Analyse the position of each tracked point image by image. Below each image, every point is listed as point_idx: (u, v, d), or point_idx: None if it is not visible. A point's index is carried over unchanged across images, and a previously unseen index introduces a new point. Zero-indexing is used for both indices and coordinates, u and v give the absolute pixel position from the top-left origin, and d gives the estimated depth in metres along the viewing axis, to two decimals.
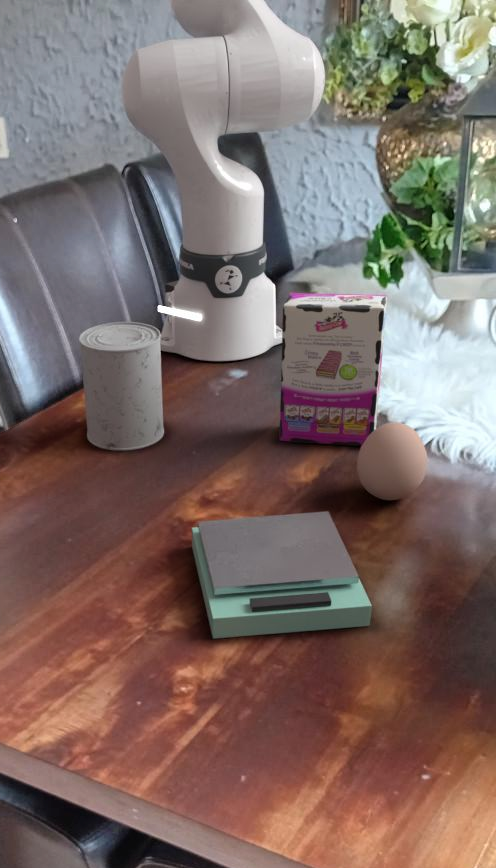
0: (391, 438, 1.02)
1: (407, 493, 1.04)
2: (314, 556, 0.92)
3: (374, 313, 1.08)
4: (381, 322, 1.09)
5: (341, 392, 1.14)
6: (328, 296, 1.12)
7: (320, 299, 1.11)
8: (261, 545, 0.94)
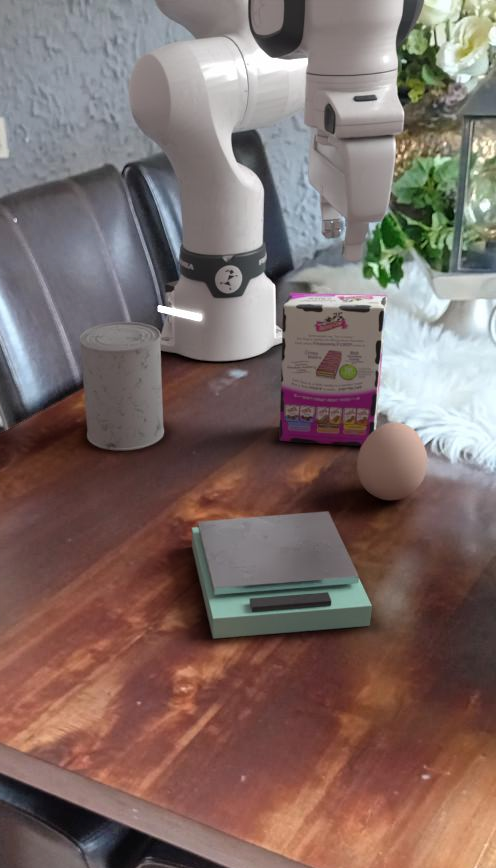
0: (391, 438, 1.02)
1: (407, 493, 1.04)
2: (314, 556, 0.92)
3: (374, 313, 1.08)
4: (381, 322, 1.09)
5: (341, 392, 1.14)
6: (328, 296, 1.12)
7: (320, 299, 1.11)
8: (261, 545, 0.94)
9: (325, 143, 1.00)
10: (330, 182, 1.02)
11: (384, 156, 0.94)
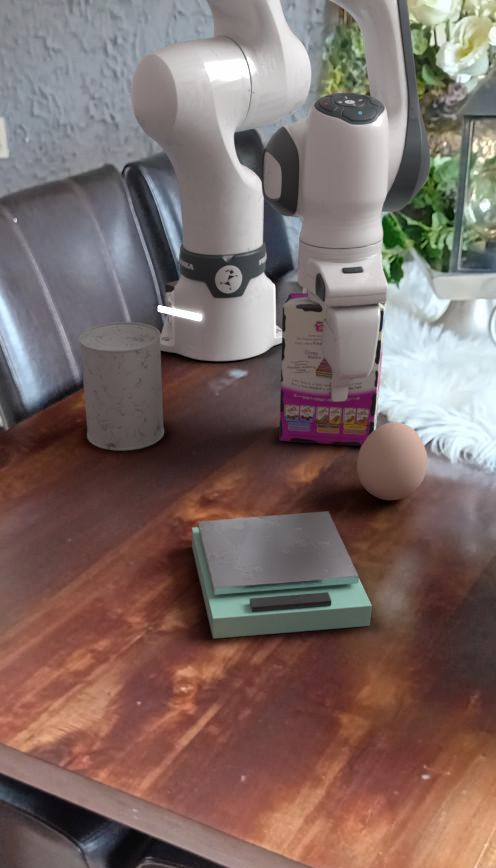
0: (391, 438, 1.02)
1: (407, 493, 1.04)
2: (314, 556, 0.92)
3: None
4: (381, 322, 1.09)
5: None
6: None
7: None
8: (261, 545, 0.94)
9: (316, 301, 1.09)
10: None
11: (369, 323, 1.03)
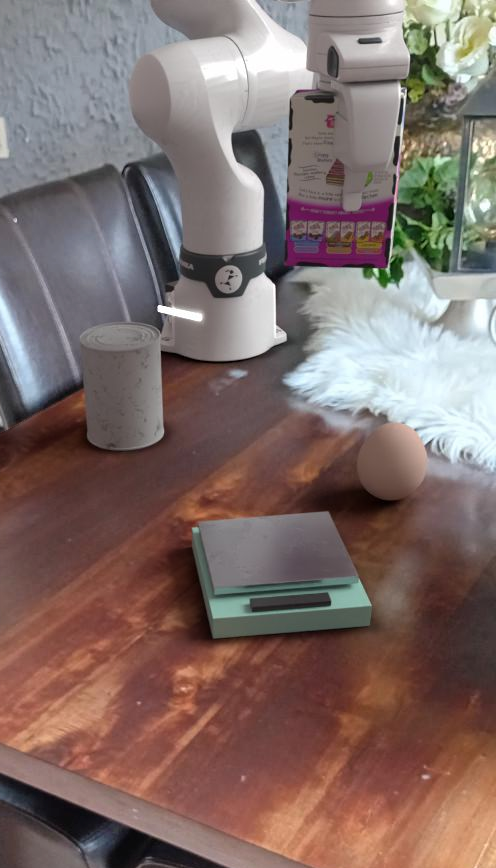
0: (391, 438, 1.02)
1: (407, 493, 1.04)
2: (314, 556, 0.92)
3: None
4: (400, 113, 0.96)
5: None
6: None
7: None
8: (261, 545, 0.94)
9: (327, 89, 0.97)
10: None
11: (389, 101, 0.91)
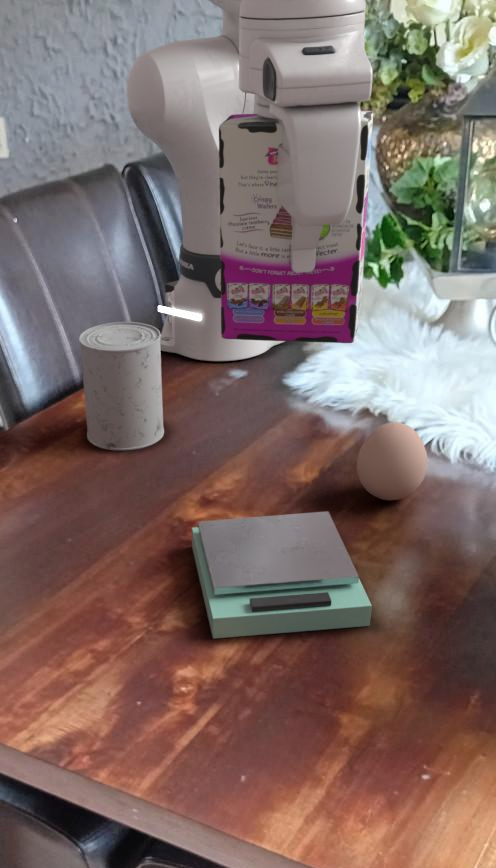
0: (391, 438, 1.02)
1: (407, 493, 1.04)
2: (314, 556, 0.92)
3: None
4: (364, 145, 0.73)
5: None
6: None
7: None
8: (261, 545, 0.94)
9: (267, 115, 0.73)
10: None
11: (345, 132, 0.67)
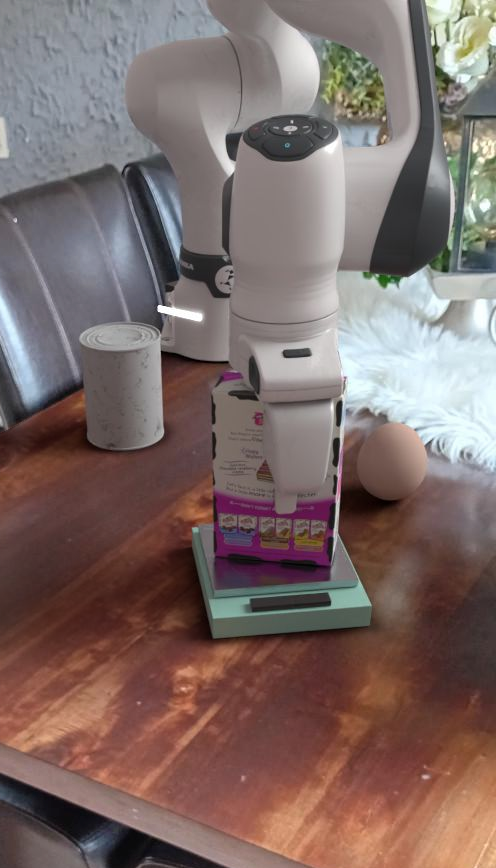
0: (391, 438, 1.02)
1: (407, 493, 1.04)
2: None
3: None
4: (339, 415, 0.82)
5: None
6: None
7: None
8: None
9: (253, 388, 0.83)
10: None
11: (319, 425, 0.77)
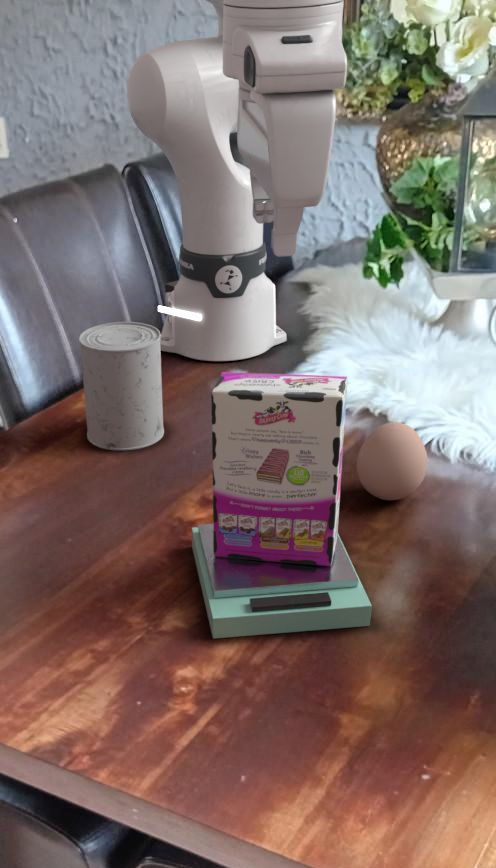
0: (391, 438, 1.02)
1: (407, 493, 1.04)
2: None
3: (329, 403, 0.82)
4: (339, 415, 0.83)
5: (290, 500, 0.88)
6: (271, 378, 0.86)
7: (260, 383, 0.85)
8: None
9: (249, 100, 0.76)
10: (257, 151, 0.79)
11: (320, 119, 0.70)
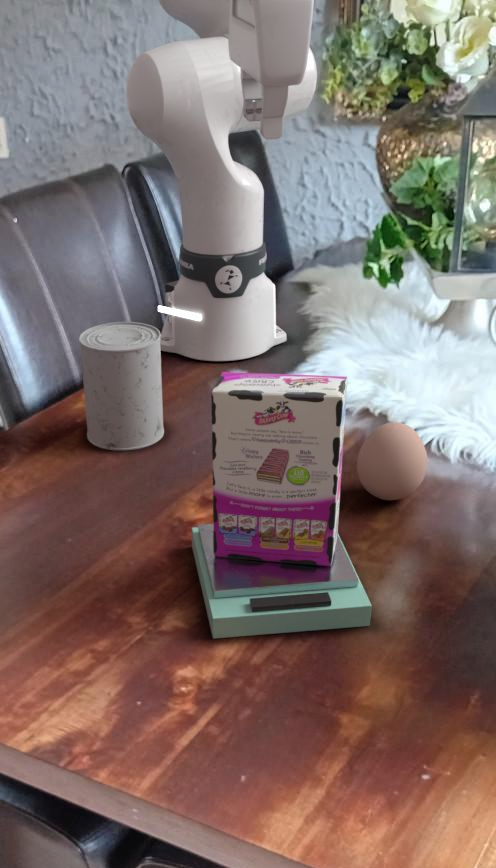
0: (391, 438, 1.02)
1: (407, 493, 1.04)
2: None
3: (329, 403, 0.82)
4: (339, 415, 0.83)
5: (290, 500, 0.88)
6: (271, 378, 0.86)
7: (260, 383, 0.85)
8: None
9: None
10: (246, 46, 0.89)
11: (300, 2, 0.80)
